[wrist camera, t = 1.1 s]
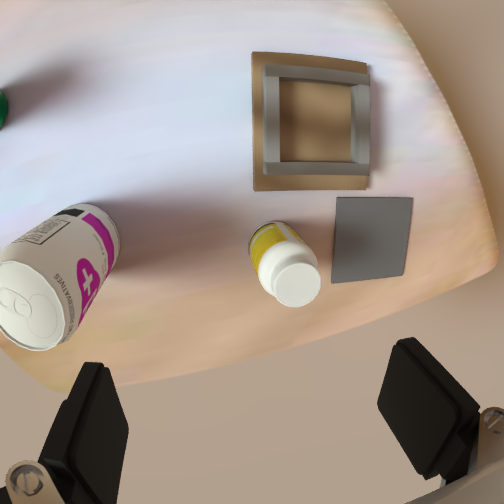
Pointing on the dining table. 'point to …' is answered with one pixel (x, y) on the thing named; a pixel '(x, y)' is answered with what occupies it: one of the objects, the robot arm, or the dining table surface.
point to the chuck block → (309, 122)
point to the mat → (370, 238)
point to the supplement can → (55, 275)
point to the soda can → (3, 108)
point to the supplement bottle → (284, 264)
